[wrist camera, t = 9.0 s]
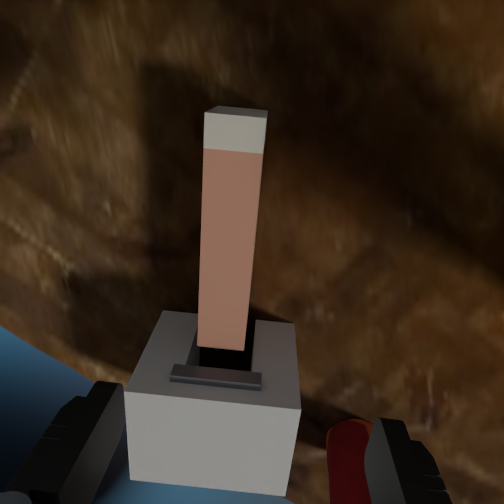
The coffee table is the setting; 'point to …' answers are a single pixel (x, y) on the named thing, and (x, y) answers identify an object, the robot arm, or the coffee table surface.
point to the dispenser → (213, 411)
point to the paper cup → (348, 461)
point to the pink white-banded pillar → (229, 222)
